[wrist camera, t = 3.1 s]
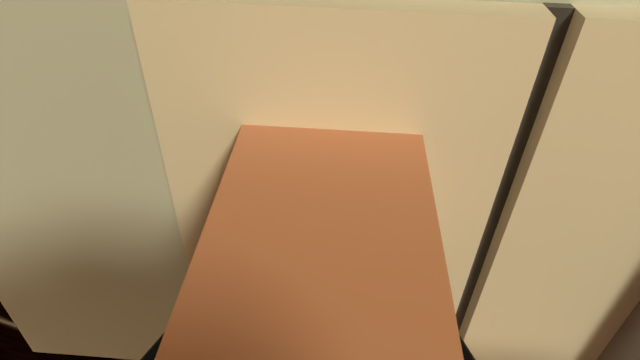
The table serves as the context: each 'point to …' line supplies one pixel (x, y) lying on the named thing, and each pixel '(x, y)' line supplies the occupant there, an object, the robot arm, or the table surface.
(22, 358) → the table surface
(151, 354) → the robot arm
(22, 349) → the table surface
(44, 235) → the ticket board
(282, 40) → the stub
